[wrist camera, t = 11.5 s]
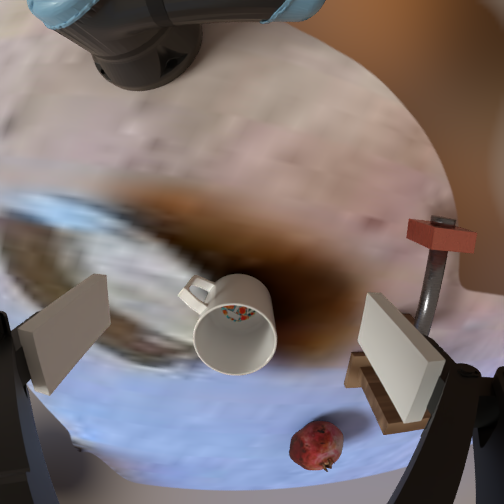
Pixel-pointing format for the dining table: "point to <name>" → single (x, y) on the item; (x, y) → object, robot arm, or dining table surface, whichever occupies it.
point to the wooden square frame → (378, 396)
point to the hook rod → (436, 260)
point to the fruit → (316, 445)
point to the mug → (233, 323)
